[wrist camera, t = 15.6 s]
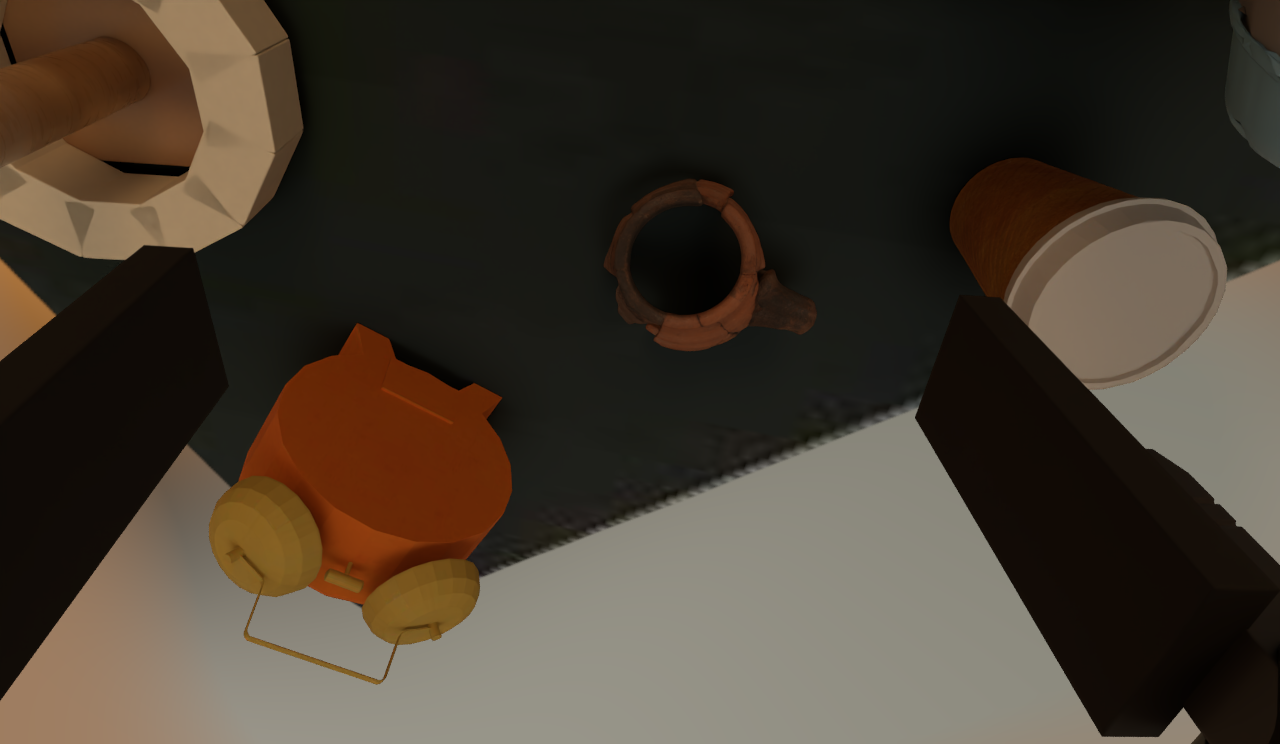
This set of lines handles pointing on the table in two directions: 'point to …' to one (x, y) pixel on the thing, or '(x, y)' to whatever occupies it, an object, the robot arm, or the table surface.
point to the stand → (95, 84)
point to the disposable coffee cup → (1091, 267)
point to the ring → (221, 168)
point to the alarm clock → (368, 494)
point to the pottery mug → (745, 305)
